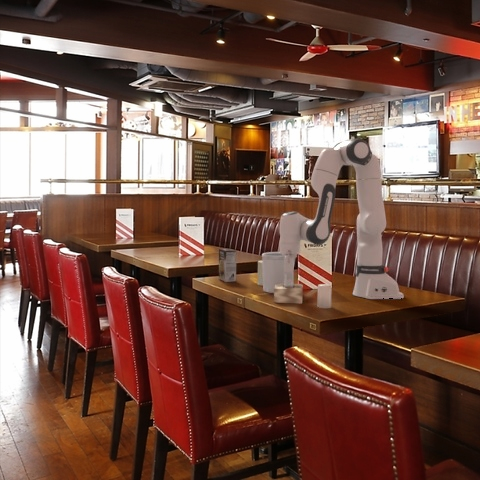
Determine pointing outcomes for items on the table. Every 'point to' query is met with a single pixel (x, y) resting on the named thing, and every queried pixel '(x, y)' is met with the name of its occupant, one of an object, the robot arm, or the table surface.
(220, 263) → the coffee box
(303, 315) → the table surface
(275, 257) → the utensil holder
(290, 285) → the square bar
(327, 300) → the white rounded block
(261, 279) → the can
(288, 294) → the socket block
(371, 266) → the robot arm
